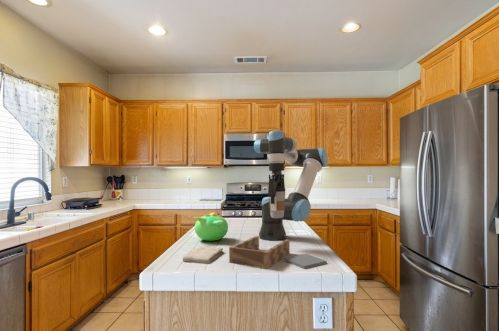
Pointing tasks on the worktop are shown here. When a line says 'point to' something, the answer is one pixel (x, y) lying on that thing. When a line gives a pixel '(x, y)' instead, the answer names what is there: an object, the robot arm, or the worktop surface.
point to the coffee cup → (279, 203)
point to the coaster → (305, 261)
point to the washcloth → (202, 254)
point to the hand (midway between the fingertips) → (277, 209)
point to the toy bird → (211, 227)
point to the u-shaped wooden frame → (257, 253)
